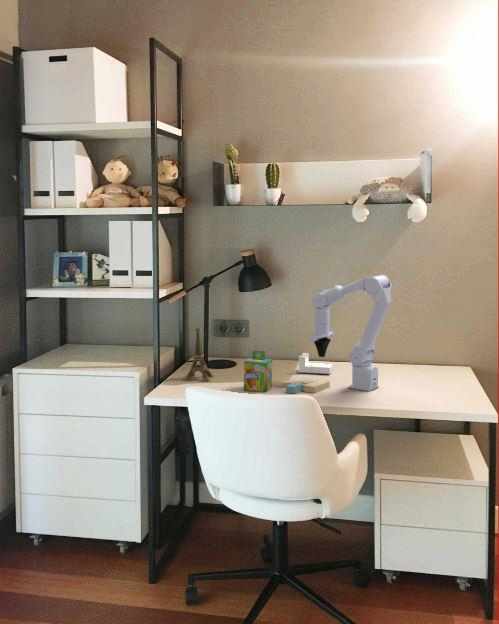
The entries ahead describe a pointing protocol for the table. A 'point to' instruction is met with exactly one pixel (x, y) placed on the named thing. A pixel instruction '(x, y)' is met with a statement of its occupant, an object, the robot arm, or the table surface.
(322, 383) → the cream usb hub
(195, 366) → the eiffel tower
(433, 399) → the table surface
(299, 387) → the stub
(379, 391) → the table surface
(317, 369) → the bracket
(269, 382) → the chalk box
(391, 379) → the table surface
